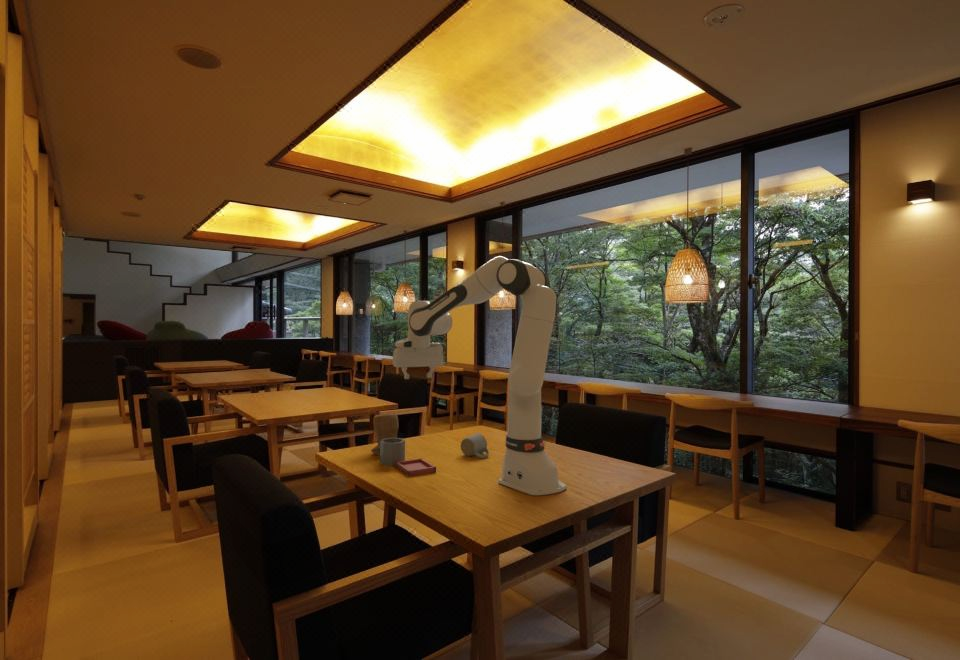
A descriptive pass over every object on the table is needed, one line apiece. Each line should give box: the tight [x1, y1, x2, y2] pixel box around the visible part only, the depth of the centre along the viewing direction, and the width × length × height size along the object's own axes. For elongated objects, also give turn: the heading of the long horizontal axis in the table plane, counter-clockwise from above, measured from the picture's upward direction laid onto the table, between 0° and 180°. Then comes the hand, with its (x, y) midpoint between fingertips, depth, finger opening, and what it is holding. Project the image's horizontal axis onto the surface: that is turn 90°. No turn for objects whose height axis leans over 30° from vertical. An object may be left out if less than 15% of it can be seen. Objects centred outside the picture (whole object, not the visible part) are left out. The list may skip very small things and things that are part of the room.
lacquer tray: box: [394, 457, 437, 478], centre depth 167 cm, size 12×10×2 cm
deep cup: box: [379, 437, 406, 467], centre depth 175 cm, size 8×8×8 cm
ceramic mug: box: [460, 432, 490, 459], centre depth 186 cm, size 11×8×8 cm
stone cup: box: [370, 413, 400, 457], centre depth 189 cm, size 15×12×15 cm
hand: (418, 378), depth 188 cm, fingers open, 8 cm apart
